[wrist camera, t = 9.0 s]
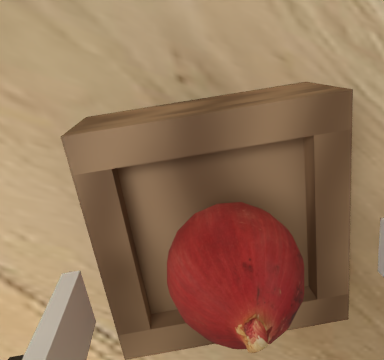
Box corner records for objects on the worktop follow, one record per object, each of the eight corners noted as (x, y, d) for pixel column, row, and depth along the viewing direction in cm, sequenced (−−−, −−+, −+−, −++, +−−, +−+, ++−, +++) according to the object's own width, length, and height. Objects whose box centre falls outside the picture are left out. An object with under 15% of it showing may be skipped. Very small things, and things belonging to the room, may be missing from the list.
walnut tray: (305, 81, 20) (352, 89, 15) (311, 267, 24) (348, 319, 19) (86, 117, 20) (60, 136, 15) (132, 298, 24) (125, 359, 19)
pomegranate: (288, 200, 18) (386, 298, 10) (244, 287, 20) (301, 427, 12) (187, 164, 17) (216, 246, 9) (148, 260, 18) (146, 397, 11)
